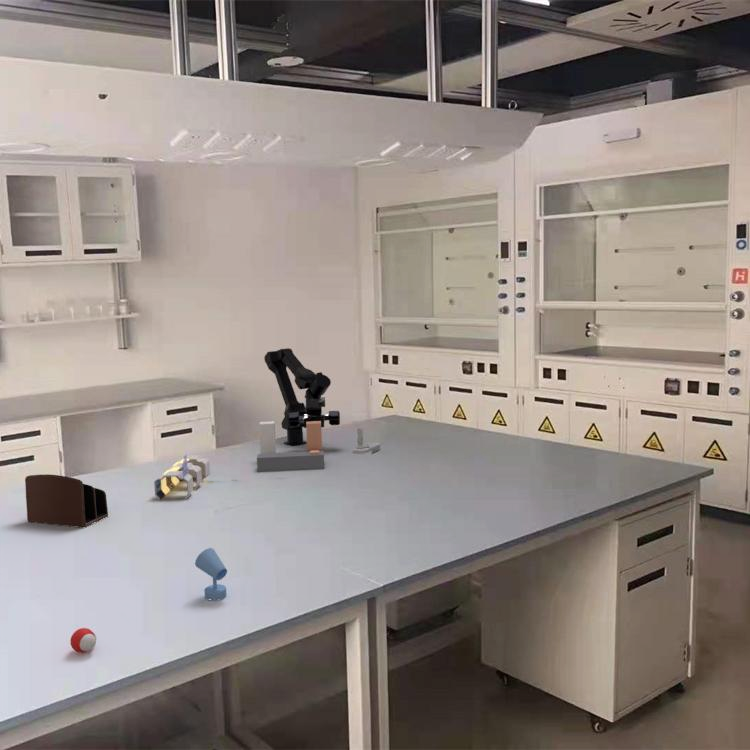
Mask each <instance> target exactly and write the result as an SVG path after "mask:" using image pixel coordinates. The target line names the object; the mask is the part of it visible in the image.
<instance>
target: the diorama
mask: <svg viewBox="0 0 750 750" xmlns="http://www.w3.org/2000/svg"><path fill="white" fill-rule="evenodd" d="M210 465H211V464H210V460H209V459H208V458H206V457H202V456H201V454H195V455H192V454H191V455H187V454H184V456H183V457H181V458H180V459H179V460H178V461H177V462H176V463H174V464H173V465H172V466H171V467H169V468H168V469H167V470H166V471H165V472H164V473H162V474H161V475H160V476H158V477H157V479H155V480H154V481H153V484H154V485H153V486H154V496H156V498H157V499H158V501H161V500H162V499H163V498H164V497H165V496H166V495H167V494H168V493H169V492H170V491H171V490H172V489H173V488H175V487H176V486H177V485H178V484H179V483H180V482H181V481H183V480H185V482H186V490H187V491H186V492H187V493H186V496H185V497H184V500H187V499H188V498H189V497H190V496H191V494H192V493H193V491H195V490H197V489H198V488H199V487H198V486H200V484H201V482H203V479H204V478H206V477H208V475H209V474H210V473H211V468H210V467H211V466H210ZM194 479H195V480H196V482H195V483H196V485H195V487H194ZM161 498H162V499H161ZM160 499H161V500H160Z"/></svg>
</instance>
